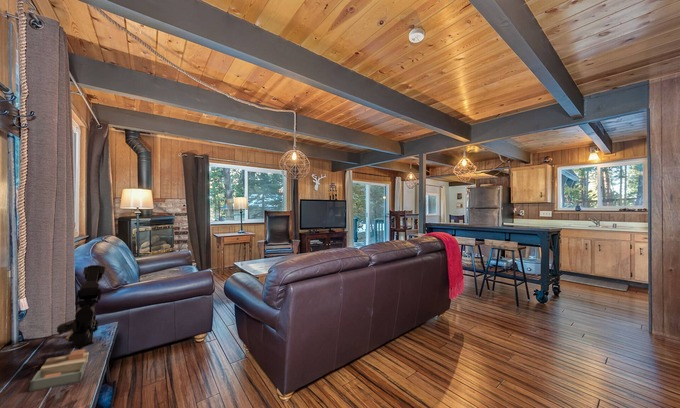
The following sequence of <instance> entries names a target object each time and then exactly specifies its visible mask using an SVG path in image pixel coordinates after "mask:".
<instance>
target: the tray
mask: <svg viewBox="0 0 680 408" xmlns="http://www.w3.org/2000/svg"><path fill="white" fill-rule="evenodd" d="M85 365H87V363H83V365H82V367H81V370H80V371H77V372H71V373H65V374H61V375H60V376H55V377H49V378H44V377H43V378H40V375H41V370H37V372H36V374H35V375H34V376H33V377H32V379H31V380H30V382H29V389H28V392H29V393H30V392H34V391H40V390H46V389H50V388H56V387H61V386H66V385H70V384H76V383H80V382H81V380H82V379H83V377H84V375H85V372H84V371H86V366H85Z"/></svg>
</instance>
